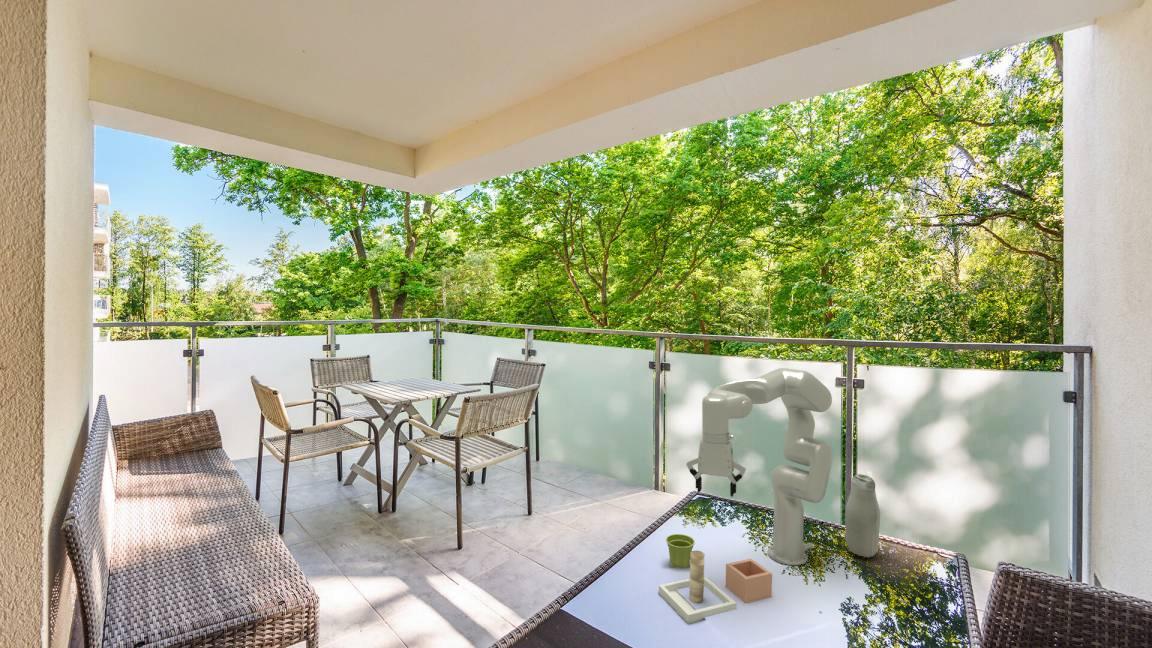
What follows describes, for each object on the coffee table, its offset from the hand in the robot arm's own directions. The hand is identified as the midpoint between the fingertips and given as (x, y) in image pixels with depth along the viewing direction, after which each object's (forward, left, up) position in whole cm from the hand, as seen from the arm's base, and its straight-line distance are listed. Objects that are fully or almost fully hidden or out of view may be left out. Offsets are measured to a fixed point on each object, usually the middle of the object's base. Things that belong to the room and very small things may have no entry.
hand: (715, 492), depth 160 cm
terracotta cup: (-9, +5, -31) cm, 32 cm away
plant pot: (+1, -17, -31) cm, 35 cm away
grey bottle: (-62, -1, -31) cm, 69 cm away
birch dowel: (+8, +3, -30) cm, 31 cm away
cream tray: (+8, +3, -31) cm, 32 cm away
